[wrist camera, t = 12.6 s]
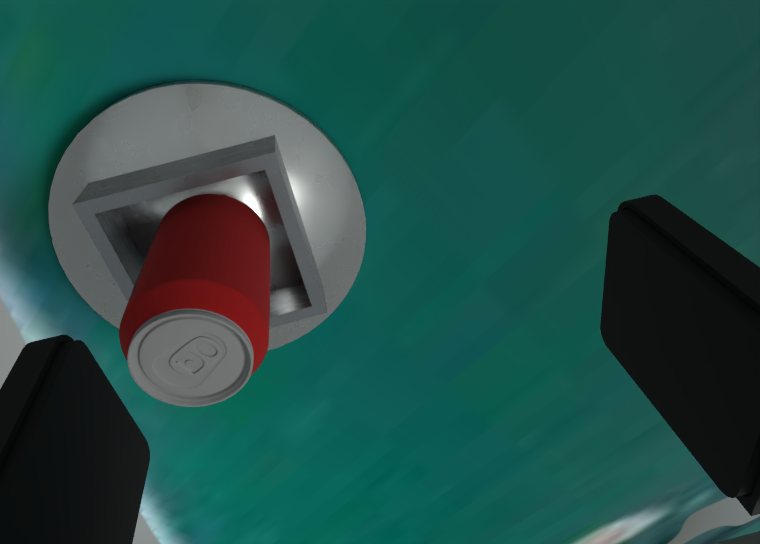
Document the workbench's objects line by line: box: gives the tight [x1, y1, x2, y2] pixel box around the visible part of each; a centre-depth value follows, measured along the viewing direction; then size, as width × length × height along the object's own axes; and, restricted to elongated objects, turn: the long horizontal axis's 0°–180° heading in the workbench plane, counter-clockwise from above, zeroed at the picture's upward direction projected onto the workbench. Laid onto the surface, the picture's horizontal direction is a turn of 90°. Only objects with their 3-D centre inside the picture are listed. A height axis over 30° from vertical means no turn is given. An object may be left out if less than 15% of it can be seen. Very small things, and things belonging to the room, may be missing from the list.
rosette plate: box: [48, 80, 366, 351], centre depth 34 cm, size 19×19×4 cm
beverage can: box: [119, 194, 270, 407], centre depth 29 cm, size 7×7×12 cm
